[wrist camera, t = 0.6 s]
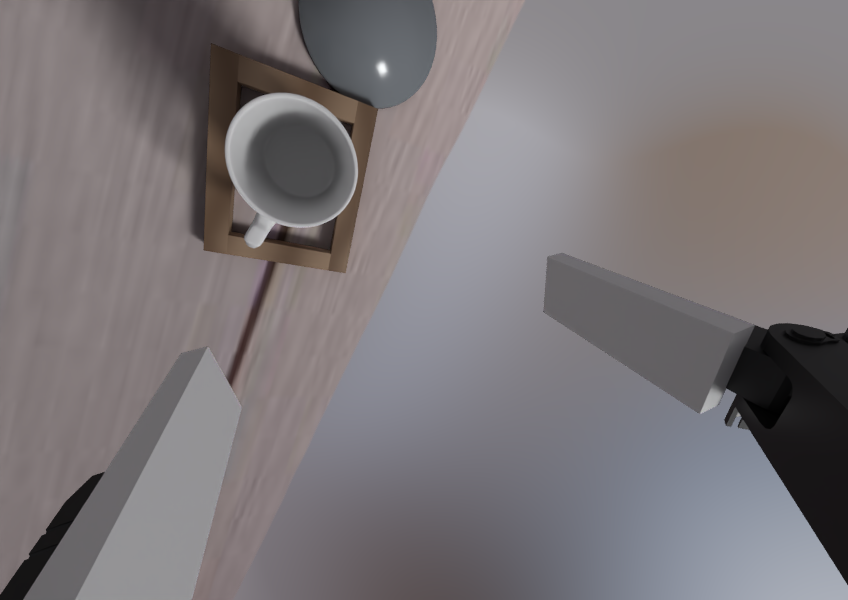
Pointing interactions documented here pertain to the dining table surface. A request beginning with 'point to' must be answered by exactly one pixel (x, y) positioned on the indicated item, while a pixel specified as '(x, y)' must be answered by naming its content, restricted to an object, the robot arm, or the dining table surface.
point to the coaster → (371, 46)
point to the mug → (289, 163)
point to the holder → (219, 200)
